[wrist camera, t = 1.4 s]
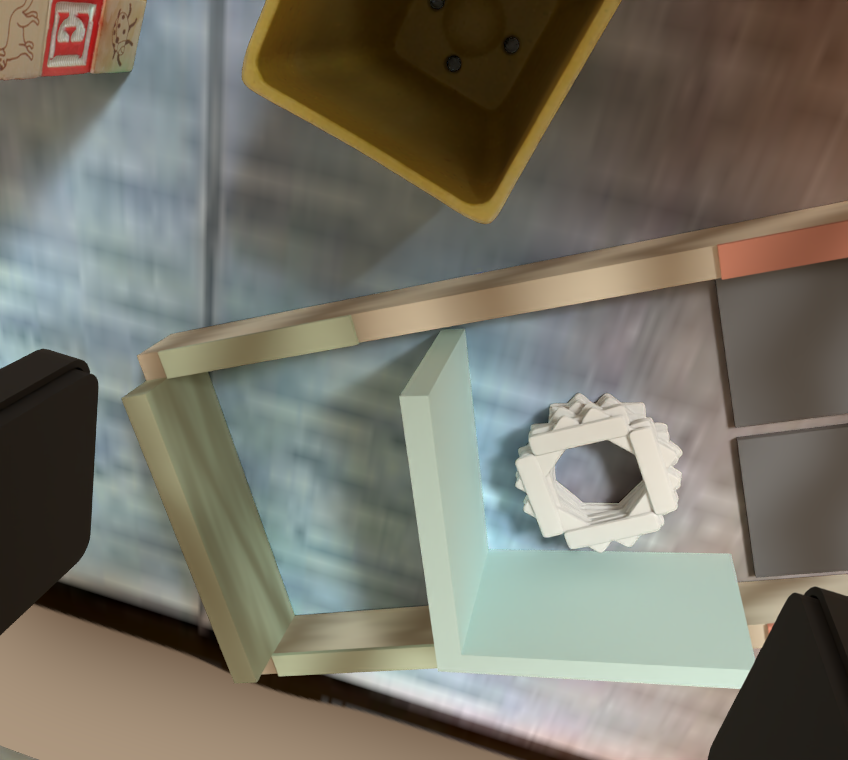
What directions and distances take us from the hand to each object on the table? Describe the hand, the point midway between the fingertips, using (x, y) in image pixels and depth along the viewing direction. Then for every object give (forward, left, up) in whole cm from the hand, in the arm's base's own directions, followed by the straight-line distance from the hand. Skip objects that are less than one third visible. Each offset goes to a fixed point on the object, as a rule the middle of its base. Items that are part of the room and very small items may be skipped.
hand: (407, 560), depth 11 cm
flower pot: (+1, -8, -24) cm, 25 cm away
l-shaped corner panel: (0, +10, -24) cm, 26 cm away
